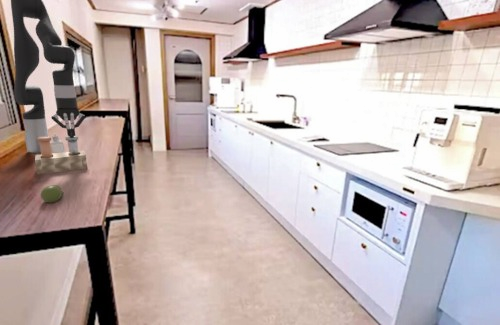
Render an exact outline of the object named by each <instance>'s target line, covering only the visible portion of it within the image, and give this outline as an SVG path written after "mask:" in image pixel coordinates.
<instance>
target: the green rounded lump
mask: <svg viewBox="0 0 500 325" xmlns="http://www.w3.org/2000/svg"><path fill="white" fill-rule="evenodd" d="M63 194H64V192H63V188H62V187H61V186H60V185H58V184H52V185H47V186H45V187H44V188H42V190H41V191H40V198H41V200H43V202H45V203H50V204H51V203H55V202H57V201H59V199H61V197H62V195H63Z"/></svg>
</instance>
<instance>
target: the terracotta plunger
mask: <svg viewBox="0 0 500 325" xmlns="http://www.w3.org/2000/svg"><path fill="white" fill-rule="evenodd" d="M37 141H39V143H40V149H41V153H40V155H42V158H48V157H52V151H51V145H50V142H51V141H52V137H51V136H49V137H39V138H37Z"/></svg>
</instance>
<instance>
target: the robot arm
mask: <svg viewBox="0 0 500 325" xmlns="http://www.w3.org/2000/svg"><path fill="white" fill-rule="evenodd" d="M10 6H11V8H10V9H11V16H12V24H13V54H14V55H13V58H14V72H15V73H14V74H15V75H14V91H13V95H14V100H15V102H16V104H18V105H19V106H33V107H32V108H31V109H30V110H27V111H25V112H23V113H22V119H23V123H24V124H23V125H24V128H25V133H24V134H23V136H24V140H25V146H26V147H25V148H26V151H27V152H26V153H33V154H37V153H40V154H41V149H40V143H39V141H37V138H39V137H50V136H49V132H48V124H47V119H46V111H45V110H46V109H45V103H44V102H45V101H44V94H43V91H42V88H40V86H39V85H37V86H36V85H27V82H28V79H29V78H30V76H31V75H32V74H33V72H34V71H36V69H37V67H38V66H39V64H40V49H39V46H38V44H37V43H36V41H35V39H34V38H33V37H32V35H31V34H30V32H29V31H28V30H27V27H26V25H25V20H24V18H29V19H34V20H38V22H37V24H36V25H35V34H36V36H37V38H38V40H39V42H40V43H41V45H42V50H43V56H44V60H46V61H47V62H48V63H50V64H56V65H63V66H62V67H63V68H61V69H57V70H56V69H55V70H53V71H52V73H51V74H52V79H53V92H54V100H55V106H56V111H55V114H53V115H52V116H51V117H50V118H51V119H52V121H53V122H55V123H56V124H57V125H58V126H59V127H61V128H62V129H66V132H67V137H69V136H70V138H72V137H74V136H76V128H79V127H80V125H81V124H82V123H83V122H84V120H85V119H86V118H87V117H86V115H85V114H83V113H81V111H80V110H79V107H78V100H77V93H76V88H75V82H74V74H73V73H74V66H75V60H76V55H75V52H74V50H73V48H71V47H70V46H67V45H62V44H63V43H62V39H61V38H60V35H59V34H58V33H57V31H56V30H55V28H54V27H53V24H52V21H51V18H50V15H49V12H48V10H47V7H46V5H45V3H44V1H43V0H10ZM59 118H60V119H61V120H63V121H64V123H65V124H64V123H63V122H61V121H60V120H59ZM77 118H78V121H77V122H76V123H75V121H76V120H77ZM69 121H70V123H69Z"/></svg>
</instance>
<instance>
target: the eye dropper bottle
mask: <svg viewBox="0 0 500 325" xmlns="http://www.w3.org/2000/svg"><path fill="white" fill-rule="evenodd" d="M51 139H52V140H51V141H50V145H51V151H52V153H63V152H66V150H65V145H64V142H63V141H62V140H60V138H59V135H58V134H57V133H55V132H53V135H52V137H51Z"/></svg>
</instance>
